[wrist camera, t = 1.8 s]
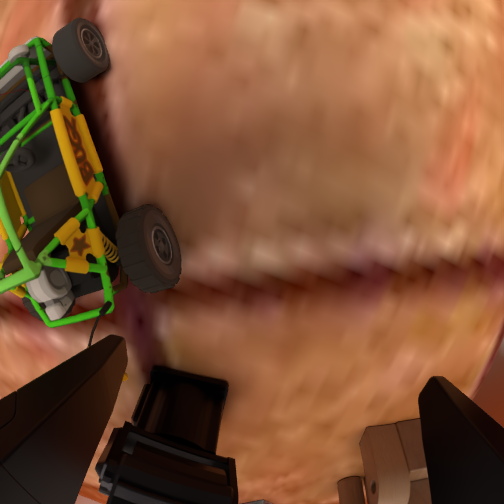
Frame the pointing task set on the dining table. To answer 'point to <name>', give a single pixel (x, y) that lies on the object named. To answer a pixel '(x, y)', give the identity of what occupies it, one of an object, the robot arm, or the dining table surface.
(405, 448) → the wooden toy
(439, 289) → the dining table surface
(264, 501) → the milk carton
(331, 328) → the dining table surface
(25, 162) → the motor vehicle
